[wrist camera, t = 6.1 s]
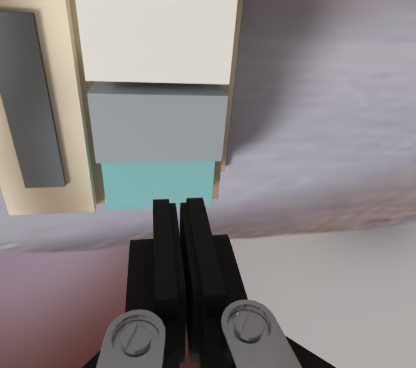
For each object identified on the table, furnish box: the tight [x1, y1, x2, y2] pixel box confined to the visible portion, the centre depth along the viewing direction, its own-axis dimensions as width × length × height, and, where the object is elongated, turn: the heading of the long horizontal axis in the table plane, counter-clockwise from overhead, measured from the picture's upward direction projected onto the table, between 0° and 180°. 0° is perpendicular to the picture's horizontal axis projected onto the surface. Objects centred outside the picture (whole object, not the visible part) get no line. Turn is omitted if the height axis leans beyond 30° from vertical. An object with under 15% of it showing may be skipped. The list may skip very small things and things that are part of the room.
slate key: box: [87, 81, 228, 163], centre depth 19 cm, size 7×4×5 cm, turn 86°
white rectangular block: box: [75, 0, 238, 84], centre depth 17 cm, size 7×4×5 cm, turn 86°
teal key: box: [101, 161, 215, 210], centre depth 23 cm, size 7×4×5 cm, turn 86°
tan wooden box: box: [0, 0, 243, 215], centre depth 22 cm, size 16×15×6 cm
